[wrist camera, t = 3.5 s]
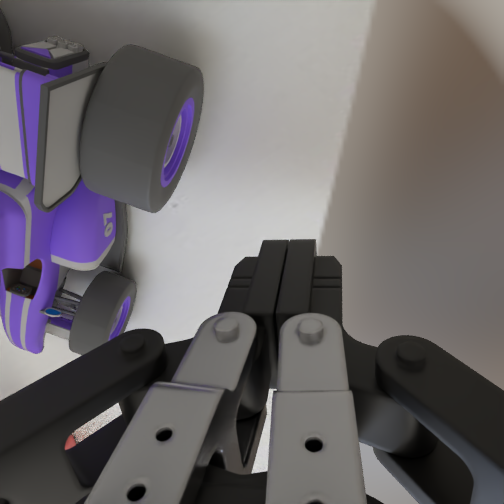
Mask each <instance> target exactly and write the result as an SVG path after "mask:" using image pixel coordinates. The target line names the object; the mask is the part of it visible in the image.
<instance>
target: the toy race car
mask: <svg viewBox="0 0 504 504" xmlns="http://www.w3.org/2000/svg"><path fill="white" fill-rule="evenodd" d="M88 58H89V52H88V51H87V50H86V49H83V45H81V44H77V43H74V45H73V42H72V41H70V40H63V38H61V37H58V36H53V38H52V37H48V38H47V40H46V41H41V42H36V43H32V44H27V45H22V46H19V47H17V48H15V55H13V54H12V41H11V35H10V31H9V27H8V24H7V21H6V18H5V16H4V14H3V12H2V10H1V9H0V316H1V317H2V322H3V326H4V329H5V332H6V334H7V336H8V338H9V340H10V341H11V343H12V344H13V345H15V346H16V347H18V348H21V349H23V350H27V351H30V352H32V353H35V354H37V353H40V352H42V350H43V348H44V346H43V345H44V338H45V333H50V334H52V335H55V336H58V337H61V338H64V339H67V340H69V348H70V350H71V351H72V352H75V353H78V354H81V355H84V354H86V353H88V352H89V351H91V350H93V349H95V348H97V347H99V346H100V345H102V344H104V343H106V342H108V341H109V340H111V339H113V338H115V337H117V336H118V335H120V334H122V333H124V331H125V329H126V326H127V324H128V321H129V318H130V316H131V313H132V310H133V306H134V302H135V298H136V289H137V288H136V282H135V281H133V280H130V279H127V278H124V277H121V276H119V275H116V274H113V273H110V272H107V271H103V272H101V273H99V274H98V275H97V276H96V277H95V278H94V280H93V281H92V282H91V284H90V285H89V287H88V288H87V290H86V291H85V293H84V295H83V297H81V296H79V295H77V294H74V293H72V292H70V291H67V290H65V289H63V287H64V284H65V280H66V277H65V276H66V274H67V272H68V271H69V269H70V268H71V269H75V270H81V271H88V270H93V269H96V268H97V267H98V266H99V265H100V266H103V267H106V268H109V269H112V270H115V271H117V272H120V273H121V270H122V265H123V260H124V255H125V249H126V243H127V234H128V228H127V215H126V205H125V204H128V205H131V206H134V207H137V208H139V209H142V210H145V211H148V212H151V213H156V212H158V211H159V210H160V209H162V207H163V206H164V205H165V204H166V203H167V201H168V200H169V198H170V197H171V195H172V194H173V192H174V190H175V188H176V186H177V184H178V182H179V180H180V178H181V176H182V173H183V171H184V169H185V166H186V163H187V161H188V158H189V155H190V152H191V149H192V146H193V143H194V140H195V136H196V132H197V128H198V124H199V120H200V115H201V110H202V103H203V91H204V84H203V75H202V72H201V70H200V69H199V68H197V67H195V66H192V65H190V64H187V63H184V62H181V61H178V60H176V59H173V58H170V57H167V56H165V55H162V54H159V53H156V52H153V51H151V50H148V49H145V48H142V47H139V46H136V45H126V46H124V47H122V48H121V49H119V50H118V51H117V52H116V53H115V54H114V55H113V56H112V57H111V59H110V60H109V61H108V63H104V62H103V63H100V64H97V65H94V66H92V67H89V59H88ZM88 67H89V68H88ZM62 292H63V293H65V294H68V295H70V296H72V297H75V298H77V299H79V300H81V301H80V302H78V301H74V300H70V299H67V298H63V297H61V294H62ZM58 303H60V304H63V305H65V306H68V307H70V308H72V309H75V310H76V313H74V312H71V311H67V310H64V309H60V308H57V305H58ZM62 313H65V314H69V315H72V316H74V318H73V321H72V320H69V319H66V318H63V317H60V316H61V315H62Z"/></svg>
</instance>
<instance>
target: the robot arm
mask: <svg viewBox="0 0 504 504" xmlns="http://www.w3.org/2000/svg"><path fill="white" fill-rule="evenodd" d="M269 388H271V389H277V391H274V392H273V397H272V412H271V427H270V443H269V458H268V471H266V472H260V473H253V474H251V472H252V468H253V464H254V461H255V457H256V453H257V449H258V446H259V442H260V438H261V434H262V430H263V427H264V423H265V419H266V415H267V408H266V402H267V398H268V392H269ZM118 402H119V405H120V408H121V411H122V415H120V416H119V417H117V418H116V419H114V420H113V421H111V422H110V423H108V424H107V425H105V426H104V427H102V428H101V429H99V430H98V431H96V432H95V433H93V434H92V435H90V436H89V437H87V438H85V439H84V440H82V441H81V442H79V443H78V444H76V445H75V446H73V447H72V448H70V449H67V450H65V444H66V441H67V439H68V437H69V436H70V435H71V434H72V433H73V432H74V431H75V430H76V429H78V428H79V427H81V426H82V425H84V424H85V423H87V422H88V421H90V420H92V419H93V418H95V417H96V416H98V415H99V414H101V413H102V412H104V411H106V410H107V409H109V408H110V407H112V406H113V405H115V404H116V403H118ZM359 442H361V443H364V444H367V445H369V446H372V447H373V450H374V453H375V455H376V457H377V459H378V460H379V461H380V463H381V464H382V465H383V466H384V467H385V468H386V469H387V470H388V471H389V472H390V473H391V474H392V475H393V476H394V477H395V478H396V480H397V481H398V482H399V483H400V484H401V485H402V486H403V487H404V488H405V489H406V490H407V491H408V492H409V493H410V494H411V496H412V497H413V498H414V499H415V500H416V501H417V502H418V503H419V504H504V391H503V390H502V389H500V388H499V387H498V386H496V385H494V384H493V383H492V382H490V381H489V380H487V379H486V378H484V377H483V376H481V375H480V374H478V373H477V372H476V371H474V370H473V369H471V368H470V367H468V366H467V365H465V364H464V363H462V362H461V361H459V360H458V359H456V358H455V357H454V356H452V355H451V354H449V353H448V352H446V351H445V350H443V349H442V348H440V347H439V346H437V345H436V344H434V343H432V342H431V341H429V340H427V339H424V338H420V337H416V336H409V335H407V336H406V335H402V336H395V337H391V338H389V339H387V340H385V341H383V342H382V343H381V344H380V345H379V346H378V347H374V346H370V345H367V344H364V343H361V342H359V341H357V340H355V339H353V338H352V337H351V336H349V335H348V334H347V332H346V331H345V330H344V328H343V325H342V265H341V264H340V263H339V262H338V261H337V259H336V258H335V257H334V256H317V252H316V240H315V239H300V240H290V242H289V240H263V242H262V245H261V249H260V252H259V255H258V257H245V258H244V259H243V260H242V261H240V262H239V263H238V264H237V265H236V266H235V268H234V270H233V273H232V276H231V279H230V281H229V284H228V288H227V289H226V292H225V295H224V298H223V300H222V303H221V306H220V308H219V311H218V314H216V315H214V316H212V317H210V318H208V319H207V320H205V321H204V322H203V323H202V324H201V325H200V327H199V329H198V331H197V332H196V334H195V336H194V338H191V339H187V340H183V341H178V342H173V343H168V344H164V340H163V337H162V336H161V334H160V333H158V332H157V331H154V330H151V329H135V330H131V331H127V332H125V333H122V334H120V335H118V336H117V337H115V338H113V339H111V340H109V341H108V342H106V343H104V344H102V345H100V346H99V347H97V348H95V349H93V350H91V351H89V352H88V353H86V354H84V355H82V356H80V357H79V358H77V359H75V360H73V361H71V362H70V363H68V364H66V365H64V366H62V367H61V368H59V369H57V370H55V371H53V372H52V373H50V374H48V375H46V376H44V377H43V378H41V379H39V380H37V381H35V382H34V383H32V384H30V385H28V386H26V387H25V388H23V389H21V390H19V391H17V392H16V393H14V394H12V395H10V396H8V397H7V398H5V399H3V400H1V401H0V504H383V503H382V502H380V501H378V500H377V499H375V498H373V497H371V496H369V495H367V494H366V493H365V485H364V477H363V469H362V462H361V455H360V447H359Z"/></svg>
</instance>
